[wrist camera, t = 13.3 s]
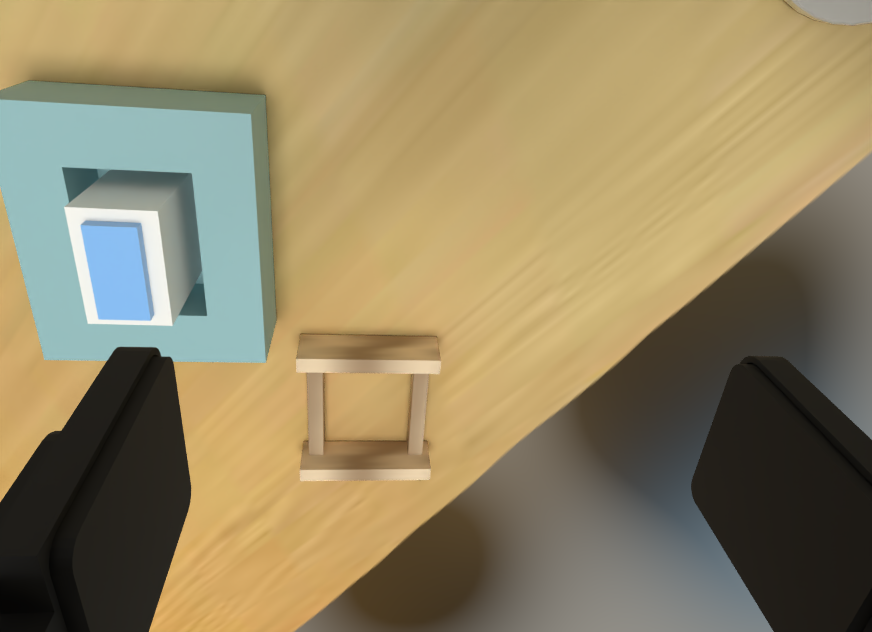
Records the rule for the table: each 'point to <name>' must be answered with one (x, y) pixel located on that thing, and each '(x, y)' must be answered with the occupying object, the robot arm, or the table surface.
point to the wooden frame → (366, 357)
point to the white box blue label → (135, 246)
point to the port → (143, 151)
